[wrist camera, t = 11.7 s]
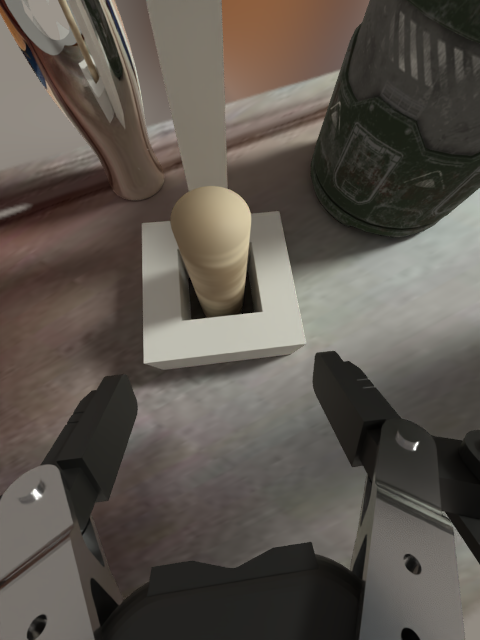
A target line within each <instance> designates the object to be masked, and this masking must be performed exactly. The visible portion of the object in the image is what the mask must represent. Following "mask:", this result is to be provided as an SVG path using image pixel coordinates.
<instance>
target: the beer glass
mask: <svg viewBox="0 0 480 640" xmlns="http://www.w3.org/2000/svg"><path fill="white" fill-rule="evenodd" d="M0 14H1V16H2V18H3V20H4V22H5V23H6V25H7V27H8V29H9V31H10V32H11V34H12V36H13V37H14V40H15V41H16V43H17V45H18V46H19V48H20V49H21V51H22V53H23V55H24V56H25V58H26V59H27V61H28V63H29V65H30V66H31V68H32V70H33V71H34V73H35V74H36V76H37V77H38V79H39V80H40V82H41V83H42V85H43V86H44V88H45V89H46V91H47V92H48V94H49V95H50V96H51V97H52V99H53V100H54V102H55V103H56V104H57V106H58V107H59V108H60V110H61V111H62V112H63V113H64V115H65V116H66V117H67V119H68V120H69V121H70V122H71V124H72V125H73V126H74V127H75V129H76V130H77V131H78V132H79V133H80V135H81V136H82V137H83V138H84V140H85V141H86V142H87V143H88V145H89V146H90V147H91V149H92V150H93V151H94V153H95V154H96V156H97V157H98V159H99V160H100V162H101V164H102V166H103V169H104V171H105V174H106V177H107V180H108V182H109V185H110V187H111V189H112V190H113V191H114V192H115V193H116V194H117V195H118V196H119V197H121V198H124V199H127V200H143V199H146V198H149V197H151V196H153V195H154V194H155V193H157V192H158V191H159V190H160V188H161V187H162V185H163V183H164V171H163V169H162V166H161V164H160V162H159V161H158V159H157V157H156V155H155V153H154V151H153V149H152V147H151V144H150V141H149V137H148V133H147V127H146V122H145V115H144V109H143V103H142V97H141V90H140V85H139V80H138V76H137V71H136V66H135V62H134V59H133V55H132V52H131V48H130V44H129V41H128V38H127V35H126V32H125V28H124V25H123V23H122V19H121V16H120V13H119V11H118V8H117V5H116V2H115V0H0Z"/></svg>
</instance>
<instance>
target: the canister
mask: <svg viewBox="0 0 480 640" xmlns="http://www.w3.org/2000/svg"><path fill="white" fill-rule="evenodd" d="M311 178H312V181H313V185H314V189H315V193H316V195H317V197H318V199H319V201H320V203H321V204H322V205H323V206H324V208H325V209H326V210H327V211H328V212H329V213H330V214H331V215H332V216H333V217H334V218H336V219H337V220H338V221H339V222H341V223H343V224H344V225H346V226H348V227H349V226H354V227H356V228H359V229H361V230H363V231H366V232H370V233H374V234H378V235H387V236H390V237H403V236H408V235H412V234H415V233H419V232H422V231H424V230H426V229H428V228H430V227H432V226H433V225H435V224H436V223H437V222H438V221H439V220H440V219H442V218H443V217H444V216H446V215H448V214H449V213H450V212H451V211H452V210H454V209H455V208H456V207H457V206H458V205H460V204H461V203H462V202H463V201H464V200H466V199H467V198H468V197H469V196H470V195H472V194H473V193H474V192H475V191H476V190H478V189H479V188H480V0H370V2H369V5H368V7H367V10H366V13H365V16H364V19H363V22H362V23H361V24H360V25H359V26H358V27H357V28H356V30H355V32H354V34H353V36H352V38H351V40H350V43H349V46H348V49H347V52H346V55H345V58H344V61H343V64H342V67H341V70H340V73H339V76H338V79H337V82H336V85H335V88H334V91H333V94H332V97H331V100H330V103H329V106H328V109H327V113H326V116H325V119H324V122H323V125H322V128H321V131H320V134H319V137H318V140H317V143H316V146H315V151H314V154H313V158H312V162H311Z"/></svg>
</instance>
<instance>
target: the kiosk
mask: <svg viewBox="0 0 480 640" xmlns="http://www.w3.org/2000/svg"><path fill="white" fill-rule="evenodd" d="M146 3H147V7H148V12H149V16H150V21H151V25H152V30H153V34H154V39H155V43H156V48H157V52H158V57H159V61H160V65H161V69H162V74H163V79H164V83H165V88H166V92H167V97H168V101H169V105H170V109H171V114H172V119H173V123H174V128H175V132H176V137H177V141H178V145H179V150H180V154H181V159H182V163H183V168H184V172H185V177H186V181H187V185H188V190H189V191H191V190H194V189H196V188H200V187H205V186H218V187H223V188H227V189H228V186H227V156H226V125H225V97H224V65H223V33H222V3H221V0H146ZM247 271H248V273H249V280H250V286H251V293H252V300H253V306H254V313H247V314H238V315H229V316H221V317H212V318H203V319H194V320H191V306H190V292H189V277H190V276H189V273H188V271H187V268H186V265H185V263H184V260H183V258H182V255H181V252H180V250H179V247H178V245H177V242H176V239H175V237H174V234H173V231H172V229H171V224H170V221H162V222H151V223H142V275H143V346H144V364H147V365H150V366H153V367H156V368H159V369H162V370H167V369H175V368H183V367H192V366H200V365H208V364H216V363H224V362H232V361H240V360H248V359H256V358H264V357H273V356H281V355H289V354H292V353H293V352H295V351H296V350H298V349H299V348H301V347H302V346H304V345H305V344H306V339H305V334H304V329H303V324H302V320H301V315H300V310H299V305H298V300H297V295H296V290H295V285H294V281H293V276H292V271H291V266H290V261H289V256H288V251H287V246H286V242H285V237H284V232H283V227H282V222H281V217H280V212H279V211H274V212H263V213H252V214H251V229H250V239H249V249H248V259H247V270H246V272H247Z"/></svg>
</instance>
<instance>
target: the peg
mask: <svg viewBox="0 0 480 640" xmlns="http://www.w3.org/2000/svg"><path fill="white" fill-rule="evenodd" d="M170 224H171V229H172V231H173V234H174V237H175V239H176V242H177V245H178V247H179V250H180V252H181V255H182V258H183V260H184V263H185V265H186V268H187V271H188V273H189V276H190V279H191V281H192V284H193V286H194V289H195V292H196V294H197V297H198V299H199V302H200V305H201V307H202V310H203V312H204V314H205V315H206V317H207V318H212V317H221V316H229V315H238V314H240V313H241V311H242V308H243V300H244V290H245V280H246V270H247V259H248V249H249V239H250V229H251V213H250V210H249V207H248V205H247V204H246V202H245V201H244V200H243V198H242V197H240V196H239V195H238V194H237V193H235V192H233V191H231V190H229V189H227V188H223V187H218V186H205V187H200V188H196V189H194V190H191V191H189V192H187V193H186V194H185V195H183V196H182V197H181V198H180V199H179V200H178V201H177V202H176V204H175V205H174V207H173V209H172V212H171V217H170Z"/></svg>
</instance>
